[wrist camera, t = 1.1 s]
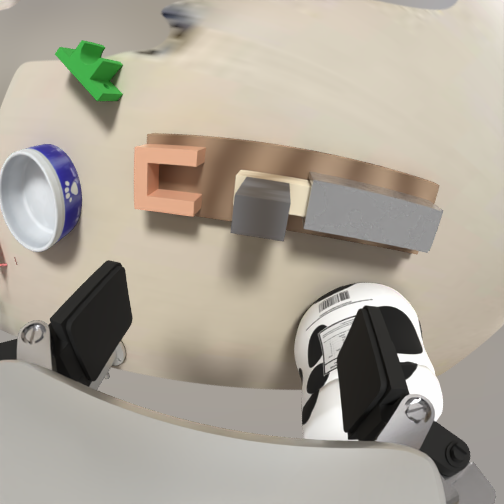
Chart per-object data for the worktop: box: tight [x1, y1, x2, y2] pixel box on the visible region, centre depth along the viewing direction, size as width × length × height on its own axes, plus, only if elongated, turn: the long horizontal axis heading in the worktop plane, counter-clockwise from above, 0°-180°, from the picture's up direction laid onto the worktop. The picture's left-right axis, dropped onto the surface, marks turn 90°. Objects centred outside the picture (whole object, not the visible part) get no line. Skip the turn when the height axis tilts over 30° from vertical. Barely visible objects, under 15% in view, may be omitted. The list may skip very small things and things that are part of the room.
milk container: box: [294, 282, 443, 441], centre depth 30 cm, size 17×17×18 cm
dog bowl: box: [0, 144, 82, 252], centre depth 31 cm, size 15×15×6 cm
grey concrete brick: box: [302, 172, 443, 253], centre depth 27 cm, size 15×5×4 cm, turn 83°
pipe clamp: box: [55, 40, 123, 101], centre depth 23 cm, size 11×4×5 cm, turn 41°
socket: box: [134, 144, 206, 217], centre depth 28 cm, size 7×7×3 cm
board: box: [147, 133, 439, 254], centre depth 30 cm, size 34×9×2 cm, turn 83°
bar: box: [231, 170, 312, 241], centre depth 24 cm, size 20×3×10 cm, turn 83°
